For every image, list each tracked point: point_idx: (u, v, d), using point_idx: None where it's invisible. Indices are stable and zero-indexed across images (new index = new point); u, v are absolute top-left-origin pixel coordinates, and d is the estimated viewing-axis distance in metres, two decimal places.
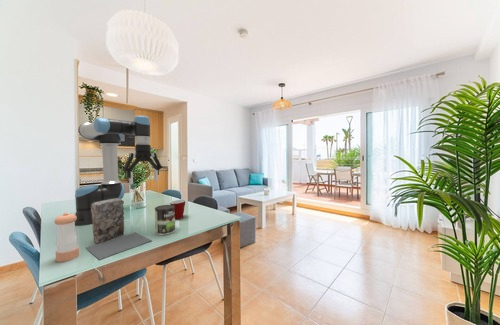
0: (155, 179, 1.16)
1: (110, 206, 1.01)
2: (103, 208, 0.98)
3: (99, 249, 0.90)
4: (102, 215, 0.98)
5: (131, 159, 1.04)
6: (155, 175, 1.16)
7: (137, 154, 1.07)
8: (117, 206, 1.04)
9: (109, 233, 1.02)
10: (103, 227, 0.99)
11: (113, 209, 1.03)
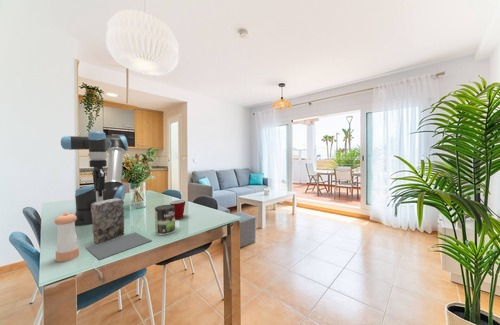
0: None
1: (110, 206, 1.01)
2: (103, 208, 0.98)
3: (99, 249, 0.90)
4: (102, 215, 0.98)
5: (93, 177, 1.11)
6: None
7: (94, 170, 1.11)
8: (117, 206, 1.04)
9: (109, 233, 1.02)
10: (103, 227, 0.99)
11: (113, 209, 1.03)
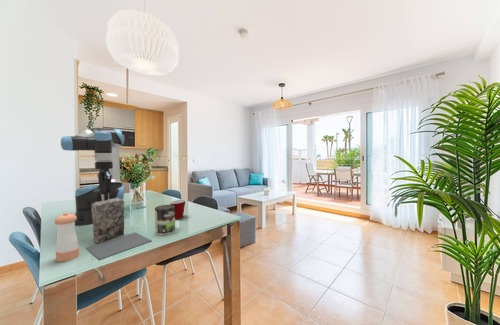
0: None
1: (110, 206, 1.01)
2: (103, 208, 0.98)
3: (99, 249, 0.90)
4: (103, 215, 0.98)
5: (99, 179, 1.06)
6: None
7: (99, 172, 1.06)
8: (117, 206, 1.04)
9: (109, 233, 1.02)
10: (103, 227, 0.99)
11: (113, 209, 1.03)
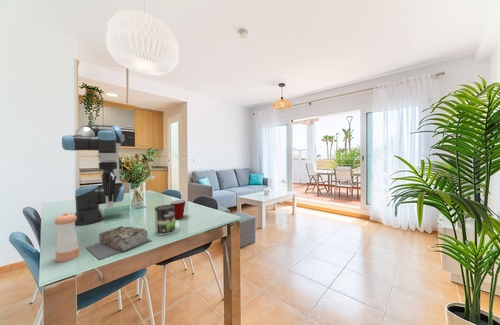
0: None
1: None
2: None
3: (99, 249, 0.90)
4: None
5: (102, 180, 1.03)
6: None
7: None
8: None
9: None
10: None
11: None
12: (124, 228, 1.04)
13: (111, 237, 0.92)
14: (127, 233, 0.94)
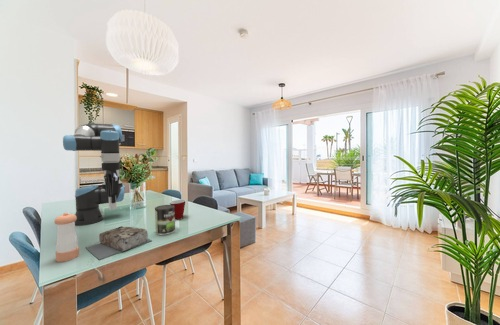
0: None
1: None
2: None
3: (99, 249, 0.90)
4: None
5: (105, 181, 1.01)
6: None
7: (106, 173, 1.00)
8: None
9: None
10: None
11: None
12: (124, 228, 1.04)
13: (111, 237, 0.92)
14: (127, 233, 0.94)
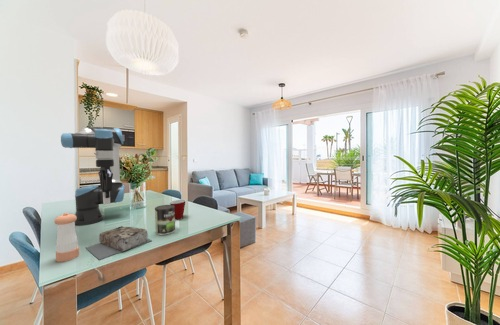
0: None
1: None
2: None
3: (99, 249, 0.90)
4: None
5: (100, 177, 1.06)
6: None
7: None
8: None
9: None
10: None
11: None
12: (124, 228, 1.04)
13: (111, 237, 0.92)
14: (127, 233, 0.94)
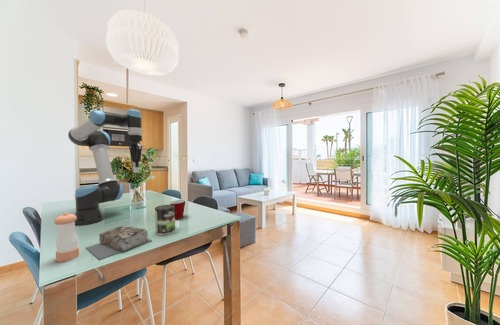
0: None
1: None
2: None
3: (99, 249, 0.90)
4: None
5: (130, 150, 1.26)
6: None
7: (131, 144, 1.26)
8: None
9: None
10: None
11: None
12: (124, 228, 1.04)
13: (111, 237, 0.92)
14: (127, 233, 0.94)
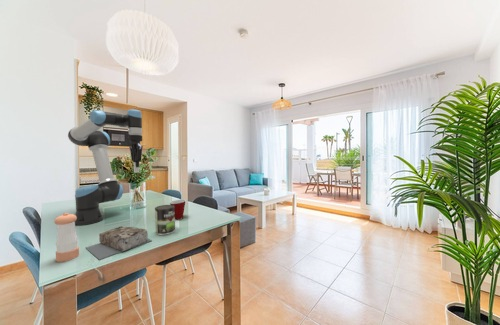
0: None
1: None
2: None
3: (99, 249, 0.90)
4: None
5: (130, 150, 1.27)
6: None
7: None
8: None
9: None
10: None
11: None
12: (124, 228, 1.04)
13: (111, 237, 0.92)
14: (127, 233, 0.94)
